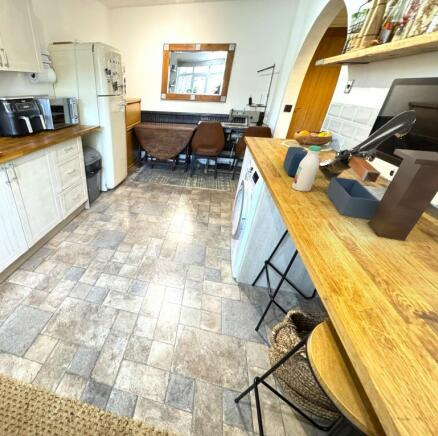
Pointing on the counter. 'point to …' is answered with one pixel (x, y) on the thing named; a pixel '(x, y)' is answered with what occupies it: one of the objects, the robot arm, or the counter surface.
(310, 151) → the milk bottle
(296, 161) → the radio
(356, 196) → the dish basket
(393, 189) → the shelf stand
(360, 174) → the orange brown bar
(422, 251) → the counter surface
